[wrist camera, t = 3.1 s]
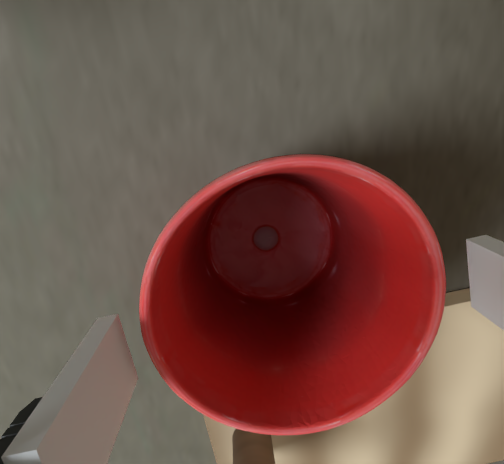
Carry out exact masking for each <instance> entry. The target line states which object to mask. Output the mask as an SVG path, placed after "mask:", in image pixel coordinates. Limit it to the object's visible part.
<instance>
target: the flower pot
mask: <svg viewBox="0 0 504 464" xmlns="http://www.w3.org/2000/svg"><path fill="white" fill-rule="evenodd" d="M445 295H446V274H445V266H444V261H443V255H442V251H441V247H440V245H439V242H438V239H437V236H436V234H435V232H434V230H433V228H432V226H431V224H430V222H429V221H428V219H427V217H426V216H425V214H424V213H423V212H422V210H421V209H420V207H419V206H418V205H417V204H416V202H415V201H414V200H413V199H412V198H411V197H410V196H409V195H408V194H407V193H406V192H405V191H404V190H403V189H402V188H401V187H399V186H398V185H397V184H396V183H394V182H393V181H392V180H391V179H389V178H387V177H386V176H384V175H382V174H381V173H379V172H377V171H375V170H373V169H371V168H369V167H367V166H364V165H362V164H359V163H357V162H353V161H350V160H347V159H344V158H339V157H334V156H326V155H315V154H296V155H285V156H278V157H272V158H267V159H263V160H259V161H256V162H252V163H250V164H247V165H244V166H241V167H239V168H236V169H234V170H232V171H230V172H228V173H226V174H224V175H222V176H220V177H218V178H217V179H215V180H214V181H212V182H211V183H209V184H208V185H206V186H205V187H203V188H202V189H201V190H200V191H198V192H197V193H196V194H195V195H193V196H192V197H191V198H190V199H189V200H188V201H187V202H186V203H185V204H184V205H183V206H182V207H181V208H180V209H179V210H178V211H177V212H176V213H175V214H174V216H173V217H172V218H171V219H170V220H169V222H168V223H167V225H166V226H165V227H164V229H163V230H162V232H161V233H160V235H159V237H158V239H157V240H156V242H155V244H154V246H153V249H152V251H151V253H150V255H149V258H148V261H147V263H146V266H145V270H144V274H143V278H142V284H141V291H140V304H139V314H140V325H141V332H142V336H143V340H144V343H145V346H146V349H147V351H148V353H149V355H150V358H151V360H152V362H153V364H154V365H155V367H156V369H157V370H158V372H159V374H160V375H161V377H162V378H163V379H164V381H165V382H166V383H167V384H168V385H169V387H170V388H171V389H172V390H173V391H174V392H175V393H176V394H177V395H178V396H179V397H180V398H182V399H183V400H184V401H185V402H186V403H188V404H189V405H190V406H192V407H193V408H194V409H196V410H197V411H199V412H201V413H202V414H204V415H205V416H207V417H209V418H211V419H213V420H215V421H217V422H220V423H222V424H224V425H227V426H230V427H233V428H236V429H239V430H243V431H249V432H252V433H259V434H267V435H302V434H310V433H316V432H321V431H325V430H329V429H332V428H335V427H338V426H341V425H344V424H346V423H349V422H351V421H353V420H355V419H357V418H359V417H361V416H363V415H365V414H366V413H368V412H370V411H371V410H373V409H375V408H376V407H377V406H379V405H380V404H382V403H383V402H384V401H386V400H387V399H388V398H389V397H391V396H392V395H393V394H394V393H395V392H397V391H398V390H399V389H400V388H401V387H402V386H403V385H404V384H405V383H406V382H407V381H408V380H409V379H410V378H411V376H412V375H413V374H414V373H415V371H416V370H417V369H418V367H419V366H420V365H421V363H422V361H423V360H424V358H425V357H426V355H427V353H428V351H429V350H430V348H431V346H432V344H433V341H434V339H435V337H436V335H437V332H438V329H439V326H440V323H441V320H442V316H443V311H444V305H445Z"/></svg>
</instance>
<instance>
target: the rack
mask: <svg viewBox="0 0 504 464" xmlns="http://www.w3.org/2000/svg"><path fill="white" fill-rule="evenodd" d="M203 416H204V420H205V423H206V427H207V430H208V434H209V437H210V441H211V444H212V448H213V451H214V455H215V458H216V462H217V464H487V463H492V462H496V461H501V460H504V330H502V329H501V328H500V327H498V326H497V325H495V324H494V323H493V322H491V321H490V320H489V319H487V318H486V317H485V316H483V315H482V314H481V313H479V312H478V311H477V310H475V309H474V308H473V307H471V298H470V288H467V289H462V290H458V291H453V292H449V293H446V295H445V305H444V311H443V316H442V320H441V323H440V326H439V329H438V332H437V335H436V337H435V339H434V341H433V344H432V346H431V348H430V350H429V351H428V353H427V355H426V357H425V358H424V360H423V361H422V363H421V365H420V366H419V367H418V369H417V370H416V371H415V373H414V374H413V375H412V376H411V378H410V379H409V380H408V381H407V382H406V383H405V384H404V385H403V386H402V387H401V388H400V389H399V390H398V391H397V392H395V393H394V394H393V395H392V396H391V397H389V398H388V399H387V400H386V401H384V402H383V403H382V404H380V405H379V406H377V407H376V408H375V409H373V410H371V411H370V412H368V413H366V414H365V415H363V416H361V417H359V418H357V419H355V420H353V421H351V422H349V423H346V424H344V425H341V426H338V427H335V428H332V429H329V430H325V431H321V432H316V433H310V434H302V435H267V434H259V433H252V432H249V431H243V430H239V429H236V428H233V427H230V426H227V425H224V424H222V423H220V422H217V421H215V420H213V419H211V418H209V417H207V416H205V415H204V414H203Z"/></svg>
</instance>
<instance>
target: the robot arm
mask: <svg viewBox="0 0 504 464" xmlns="http://www.w3.org/2000/svg"><path fill="white" fill-rule="evenodd" d="M466 246H467V259H468V272H469V285H470V298H471V307H473V308H474V309H475V310H477V311H478V312H479V313H481V314H482V315H483V316H485V317H486V318H487V319H489V320H490V321H491V322H493V323H494V324H495V325H497V326H498V327H500V328H501V329H502V330H504V242H502V241H500V240H498V239H495V238H493V237H491V236H488V235H483V236H478V237H473V238H469V239H466ZM137 380H138V376H137V373H136V369H135V366H134V363H133V360H132V357H131V354H130V350H129V347H128V344H127V341H126V338H125V335H124V332H123V328H122V325H121V322H120V319H119V316H118V314H114V315H109V316H105V317H100V318H97V319H96V321H95V322H94V324H93V325H92V327H91V328H90V330H89V331H88V332H87V334H86V335H85V337H84V338H83V340H82V341H81V343H80V344H79V345H78V347H77V348H76V350H75V351H74V353H73V354H72V356H71V357H70V358H69V360H68V361H67V363H66V364H65V366H64V367H63V369H62V370H61V372H60V373H59V374H58V376H57V377H56V379H55V380H54V382H53V383H52V385H51V386H50V387H49V389H48V390H47V392H46V393H45V395H44V396H43V397H41V398H36V399H34V400H33V401H32V402H31V403H30V404H28V405H27V406H26V407H25V408H24V409H23V410H21V411H20V412H19V414H18V415H17V416H16V418H15V419H14V420H13V422H12V423H11V424H10V428H8V429H7V430H6V431H5V433H4V434H3V435H2V439H0V464H107V462H108V459H109V457H110V454H111V451H112V448H113V446H114V443H115V440H116V437H117V435H118V432H119V429H120V426H121V424H122V421H123V418H124V415H125V413H126V410H127V407H128V404H129V402H130V399H131V396H132V393H133V391H134V388H135V385H136V382H137Z"/></svg>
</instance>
